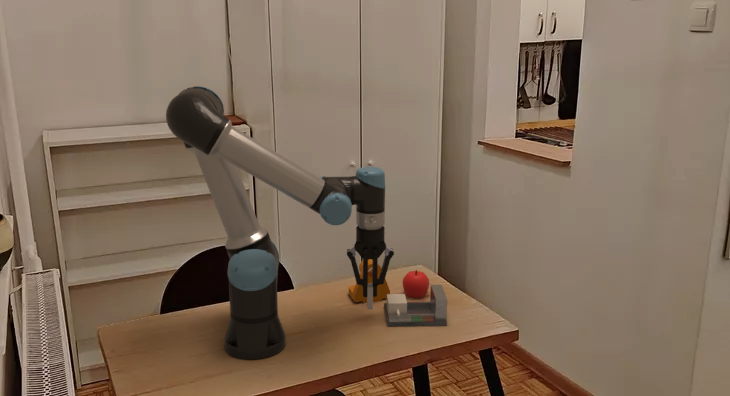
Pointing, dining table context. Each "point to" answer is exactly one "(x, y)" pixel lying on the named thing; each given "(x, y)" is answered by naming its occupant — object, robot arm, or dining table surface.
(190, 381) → the dining table surface
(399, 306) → the cream block with peg
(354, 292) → the bracket
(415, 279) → the apple
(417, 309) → the gauge base
